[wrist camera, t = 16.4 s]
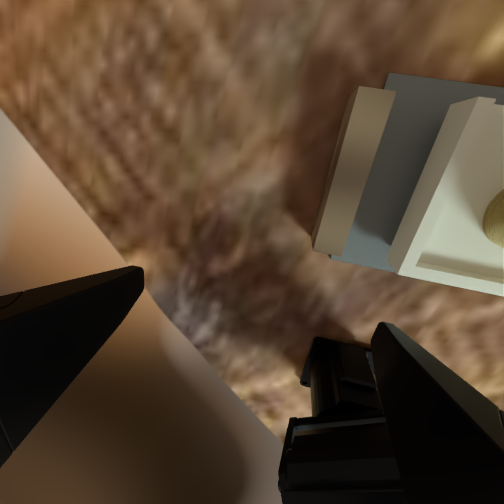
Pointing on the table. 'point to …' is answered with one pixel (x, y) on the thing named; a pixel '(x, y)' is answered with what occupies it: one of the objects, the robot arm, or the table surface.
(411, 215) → the shallow square tray
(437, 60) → the table surface
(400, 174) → the mat
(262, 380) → the table surface
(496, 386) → the table surface
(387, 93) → the end stop
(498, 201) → the solid brass cylinder
